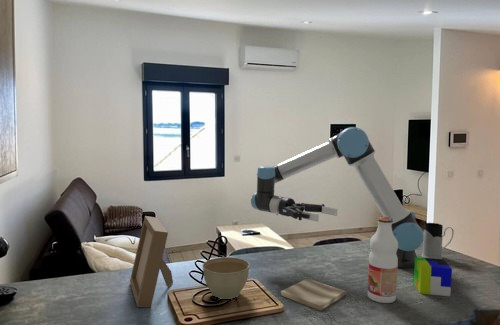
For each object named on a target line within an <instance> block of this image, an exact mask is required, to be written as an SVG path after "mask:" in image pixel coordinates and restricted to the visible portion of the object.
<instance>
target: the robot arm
mask: <svg viewBox="0 0 500 325" xmlns="http://www.w3.org/2000/svg"><path fill="white" fill-rule="evenodd" d="M375 152H376V150H375V149H374V147H373V145H372V144H371V142H370V140H369V136H368V134H367V133H366V131H364V130H363V129H361V128H359V127H356V126H349V127H347V128H345V129H343V130H341V131H340V132H339V133H337V134H336V135H334V136H332V137H330V138H329V139H328V141H326V142H324V143H322V144H319V145H318V146H315V147H313V148H311V149H309V150H306V151H303V152H302V153H299V154H298V155H295V156H293V157H291V158H289V159H286V160H284V161H282V162H280V163H278V164H275V165H272V166H270V165H261V166H258V167H257V173H256V176H257V178H256V181H257V182H256V192H254V193H253V194H252V196H251V199H250V205H251V207H252V208H253V209H254V210H257V211H261V212H267V213H270V214H275V215H276V216H279V215H280V216H284V217H291V218H293V219H295V220H297V219H298V221H302V220H303V219H304V220H308V221H313V222H317V223H318V222H319V218H320V216H319V215H320V214H319V213H321V214H325V215H329V216H335V217H337V216H338V208H333V207H329V206H326V205H325V204H324V203H322V204H314V203H313V204H312V203H304V202H301V203H300V202H299V203H296V201H295V200H294V199H293V198H291V197H285V196H282V195H281V196H280V195H275V184H277V183H279V182H281V181H284V180H286V179H288V178H291V177H292V176H295V175H297V174H300V173H302V172H305V171H307V170H309V169H311V168H313V167H316V166H318V165H320V164H322V163H325V162H328V161H330V160H332V159H334V158H337V159H340V158H344V159H345V161H346V162H347V165H348V166H350V167H354V169H355V170H356V173H357V174H358V176H359V177H360V179H361V181H362V183H363V184H364V186H365V188H366V189H367V191H368V193H369V195H370V197H371V199H372V200H373V202H374V204H375V205H376V207H377V208H378V210H379V212H380V213H381V216H382V217H390V218H392V219H393V223H392V232H393V235H394V236H395V238H396V239H397V241H398V249H397V252H396V255H397V258H398V268H403V269H404V268H405V269H407V268H415V257H417V252H416V250H417V249H418V248H420V246H422V245H423V240H424V229H423V228H422V227H421V226H419V225H420V224H418V222H417V220H416V217H417V216H416V213H415V211H414V210H410V209H407V208H404V206H403V205H402V203H401V201H400V199H399V196H397V194H396V192H395V190H394V189H393V187H392V185H391V184H390V182H389V180H388V179H387V177H386V175H385V174H384V172H383V170H382V169H381V167H380V165H379V163H378V161H377V159H375Z"/></svg>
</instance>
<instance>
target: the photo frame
mask: <svg viewBox="0 0 500 325" xmlns="http://www.w3.org/2000/svg"><path fill="white" fill-rule="evenodd" d="M140 231H141V232H140V235H139V239H138V245H137V249H136V253H135V257H134V262H133V266H132V269H131V275H130V277H129V278H130V279H129V283H130V287H131V289H132V294H133V297H134V300H135V304H136V307H137V308H139V307H140V308H152V303H153V300H154V296H155V292H156V287H157V284H158V283H157V282H158V279H159V274H160V272H161V275H162V277H163V280H164V282H165V284H166V287H167V288H170V287H171V285H172V284H173V283H174V280H173V275H172V274H173V273H172V270H171V269H170V268H169V266H168V265H167V263H166V261H165V260H164V259H163V257H164V252H165V248H166V244H167V241H168V240H167V239H168V234H169V232H168V231H167V229H166V228H165V227H164V225H163V224H162V223H161V221H160V220H159V219H158V217H154V216H149V215H148V216H147V215H144V219H143V222H142V226H141V230H140Z"/></svg>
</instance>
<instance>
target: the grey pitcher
mask: <svg viewBox="0 0 500 325" xmlns="http://www.w3.org/2000/svg"><path fill="white" fill-rule="evenodd" d="M443 226H444V225H442V224H440V223H436V222H435V223H434V222H425V223H424V226H423V228H424V229H423V234H424V240H423V242H422V253H421V258H434V259H443V255H442V252H443V250H444V249H445V248H446V247H447V246H448V245H450V244H451V242H452V241H453V238H454V234H455V233H454V228H452V227H450V226H447V227H446V228H444V227H443ZM443 228H444V230H443ZM448 229H451V236H450V239H449V241H448V242H447V243H446V244H445V245H444V246H443V237H445V235H446V231H447V230H448Z"/></svg>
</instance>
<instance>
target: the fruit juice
mask: <svg viewBox="0 0 500 325" xmlns="http://www.w3.org/2000/svg"><path fill="white" fill-rule="evenodd" d="M392 223H393V219H392V218H390V217H383V216H379V217H377V224H378V225H377V229H376V231H375V232H374V234H373V235H372V236H371V238H370V239H369V240H370V241H369V246H370V253H369V254H368V255H369V256H368V272H367V273H368V274H367V297H368V298H369V300H372V301H374V302H377V303H379V304H391V303H394V302H395V301H396V298H397V287H398V285H397V284H398V268H399V267H398V258H397V255H396V252H397V249H398V241H397V239H396V238H395V236H394V235H393V232H392Z"/></svg>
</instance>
